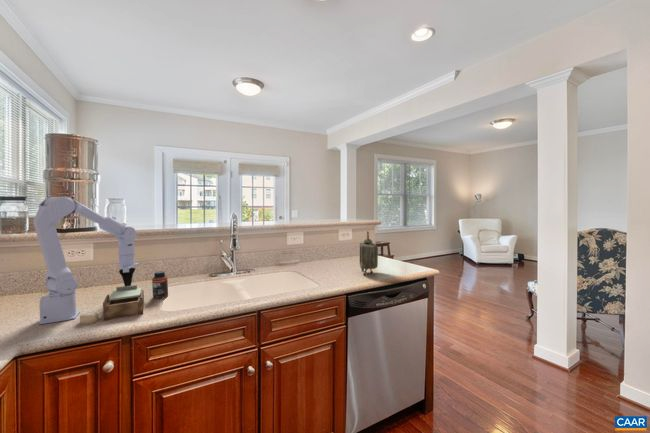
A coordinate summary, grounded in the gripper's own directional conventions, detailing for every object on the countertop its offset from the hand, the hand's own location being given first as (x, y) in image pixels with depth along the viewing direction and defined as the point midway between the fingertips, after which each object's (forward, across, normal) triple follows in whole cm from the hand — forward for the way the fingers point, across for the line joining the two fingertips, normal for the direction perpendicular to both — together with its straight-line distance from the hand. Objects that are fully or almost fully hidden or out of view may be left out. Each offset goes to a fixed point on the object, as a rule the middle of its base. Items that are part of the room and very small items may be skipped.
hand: (128, 285), depth 125 cm
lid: (+1, -11, 0) cm, 11 cm away
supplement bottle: (+6, -4, -12) cm, 14 cm away
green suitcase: (+6, -18, -118) cm, 119 cm away
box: (+6, -17, 0) cm, 18 cm away
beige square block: (+6, -21, +10) cm, 24 cm away
